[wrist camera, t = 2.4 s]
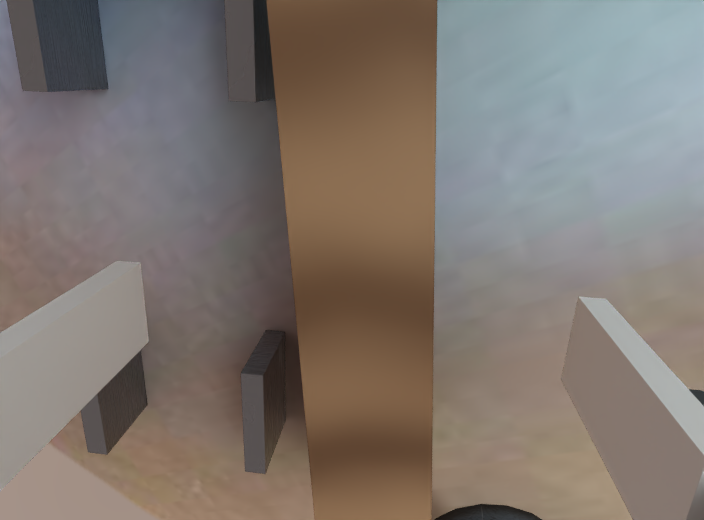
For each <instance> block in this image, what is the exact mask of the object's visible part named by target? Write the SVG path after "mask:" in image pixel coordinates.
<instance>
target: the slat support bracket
mask: <svg viewBox="0 0 704 520" xmlns="http://www.w3.org/2000/svg"><path fill="white" fill-rule="evenodd" d="M6 1H7V6H8V12H9V17H10V23H11V28H12V34H13V39H14V45H15V50H16V56H17V61H18V67H19V73H20V78H21V84H22V89H23V91H40V92H55V91H74V90H94V89H108V83H107V75H106V67H105V59H104V51H103V43H102V35H101V27H100V18H99V10H98V2H97V0H6ZM224 4H225V27H226V50H227V72H228V95H229V101H241V102H260V101H265V100H271V99H276V98H275V87H274V76H273V66H272V55H271V44H270V33H269V23H268V12H267V1H266V0H224Z"/></svg>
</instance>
